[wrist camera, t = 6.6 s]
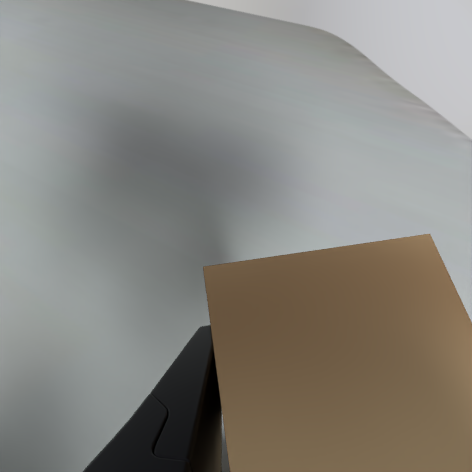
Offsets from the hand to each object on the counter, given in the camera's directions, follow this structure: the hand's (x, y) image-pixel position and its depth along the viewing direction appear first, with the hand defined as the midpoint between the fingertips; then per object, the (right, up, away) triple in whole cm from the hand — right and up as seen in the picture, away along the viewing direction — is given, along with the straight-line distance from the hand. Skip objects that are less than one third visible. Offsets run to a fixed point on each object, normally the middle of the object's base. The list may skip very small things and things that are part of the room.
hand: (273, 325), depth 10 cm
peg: (0, -4, +6) cm, 7 cm away
